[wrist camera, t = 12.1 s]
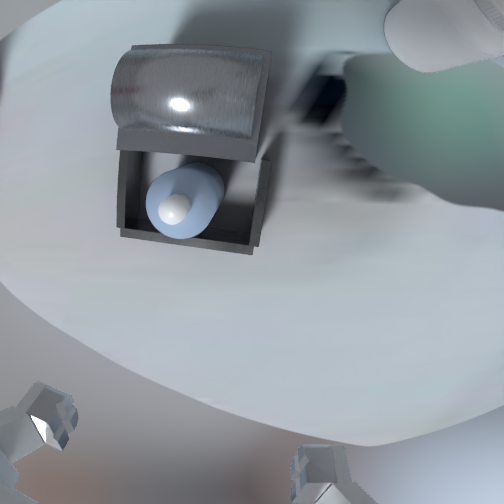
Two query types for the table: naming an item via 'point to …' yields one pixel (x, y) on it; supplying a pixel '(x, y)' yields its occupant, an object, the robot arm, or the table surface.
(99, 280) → the table surface
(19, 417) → the robot arm
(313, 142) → the table surface
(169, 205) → the light blue bottle
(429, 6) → the pill bottle
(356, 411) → the table surface
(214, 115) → the dark grey piece
